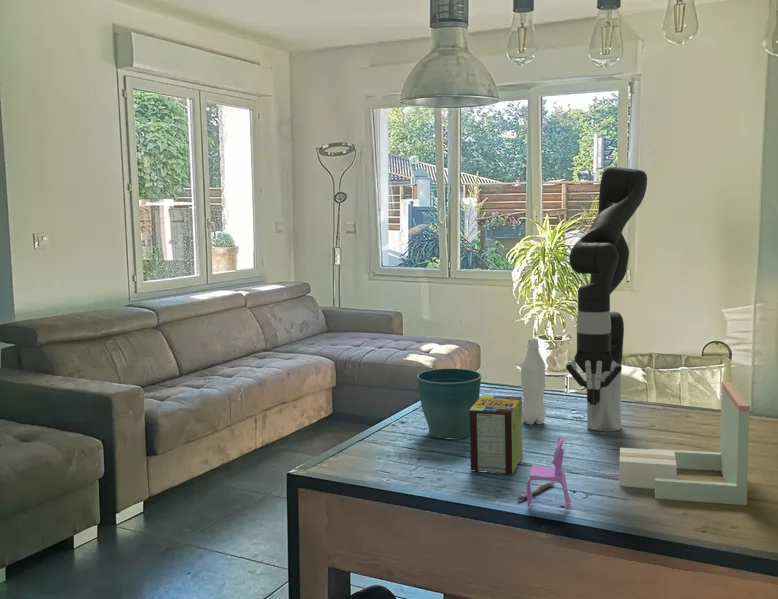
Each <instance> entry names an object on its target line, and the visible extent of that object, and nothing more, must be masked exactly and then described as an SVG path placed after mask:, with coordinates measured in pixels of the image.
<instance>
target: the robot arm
mask: <svg viewBox="0 0 778 599" xmlns="http://www.w3.org/2000/svg"><path fill="white" fill-rule="evenodd" d="M600 178H601V179H600V183H599V194H598V195H599V196H598V208H597V209H598V210H597V211H598V212H597V213H598V214H597V215H596V217H595V218H594V220H593V222H592V224H591V226H590V229H589V230H588V231H587V232H586V233H584V235H583V236H582V237H580V239H578V240H577V241H576V242H575V244H574V245H572V246H573V247H572V248H571V251H570V253H569V257H568V258H569V260H568V262H569V266H570V268H571V269H572V270H573V271H574V272H575V273H577V274H580V275H582V274H583V275H587V274H588V275H590V276H589V277H590V279H589V283H586V284H583V285H580V286H579V287H578V291H577V317H576V352H575V355H574V359H573V360H572V361H570V362H567V363H566V365H565V369H566V370H567V371H568V373H569V374H570V375H571V376H572V378H573V379H574V381H575V382H577V384H578V385H579V386H580V387H584V388H586V401H587V405H586V406H587V407H586V408H587V410H586V411H587V412H586V413H587V415H586V417H587V421H586V422H587V425H586V426H587V427H586V429H588V430H593V431H598V432H616V431H619V430H621V428H622V368H623V367H622V363H623V354H624V353H623V352H624V336H625V334H624V333H625V324H624V323H625V322H624V319H623V316H622V313H620V312H617V311H611V294H612V293H613V291H615V290H616V288H618V286H619V285H620V284H621V283H622V282H623V280H624V278H625V276H626V275H627V270H628V264H629V257H630V249H629V246H628V243H627V240H626V239H625V237H624V235H623V230H624V228H625V226H626V225H627V223H628V222H629V221H630V219H631V218H632V217H633V215H634V214H635V213H636V212H637V210H638V208H639V207H640V206H641V204H642V202H643V200H644V198H645V194H646V192H647V186H648V175H647V173H646V172H645V171H643V170H641V169H637V168H629V167H622V166H621V167H620V166H609V165H608V166H606V167H605V169H604V170H603V172H602V175H601V177H600ZM578 367H579V368H580V370H581V371H582V373H584V374H585V376H586V377H585V379H584V378H583V377H582V375H581V374H580V373H579V372H578V371H577V370H578Z"/></svg>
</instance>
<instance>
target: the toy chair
mask: <svg viewBox="0 0 778 599" xmlns="http://www.w3.org/2000/svg"><path fill="white" fill-rule="evenodd" d="M557 440H558V441H557V445H556V447H555V450H554V453H553V460H552V462H551V463H552V465H554V466H544V465H535V464H532V466H531V470H530V473H529V475H528V478H527V481H526V489H525V490H526V493H525V494H527V498H526V500H527V507H528V506H529V507H530V504H531V500H532V497H533V498H534V495H533V496H532V493H531V491H532V490H531V482H532V481H548V482H554V483H559V484H560V485H561V488H562V492H563V496H564V501H565V507H566V511H567V510H569V511H570V509H569V504H570V505H571V498H570V495H569V491H568V485H567V479H566V478H567V477H566V474H565V472H564V471H563V467H562V466H563V460H564V454H565V449H564V448H562V447H563V444H564V440H565V437H564V436H563V435H560V436H558V439H557ZM531 505H532V504H531Z"/></svg>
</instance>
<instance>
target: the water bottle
mask: <svg viewBox="0 0 778 599" xmlns="http://www.w3.org/2000/svg"><path fill="white" fill-rule="evenodd" d="M526 344H527V346H526V348H527V350H526V353H525V355H524V357H523V359H522V361H521V363H520V364H521V365H520V378H521V382H520V386H521V388H522V393H523V394H522V396H523V397H522V423H524V422H526V423H525V424H527V425H528V424H531V425H530V426H533V425H534V424H535V423H536V425H538V424H540V425H542V424H543V423H544V421H545V418H546V413H547V412H546V408H545V404H544V393H545V392H544V391H545V389H546V369H547V368H546V367H547V366H546V363H545V361H544V359H543V357H542V355H541V352H540V351H539V348H540V346H539V338H528V339H527V343H526ZM532 424H533V425H532Z"/></svg>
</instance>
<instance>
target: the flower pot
mask: <svg viewBox="0 0 778 599" xmlns="http://www.w3.org/2000/svg"><path fill="white" fill-rule="evenodd" d="M482 377H483V376H482V374H481V373H480V372H479V371H477V370H473V369H465V368H451V367H449V368H446V367H445V368H437V369H436V368H435V369H428V370H424V371H421V372H420V373H418V374H417V376H416V378H417V382H418V389H419V397H420V398H419V399H420V400H419V401H420V405H421V408H422V413H423V415H424V419H425V420H426V424H427V428H428V433H429V435H431V436H432V437H434V436H435V437H434V438H437V437H439V438H438V439H442V438H458V439H462V438H461V437H463V438H465V436H466V437H469V436H470V414H469V410H470V409H471V407H472V406H473V405H474V404H475V403H476V402H477V400H478V399H479V398H480V394H481V393H480V390H481V381H482Z"/></svg>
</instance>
